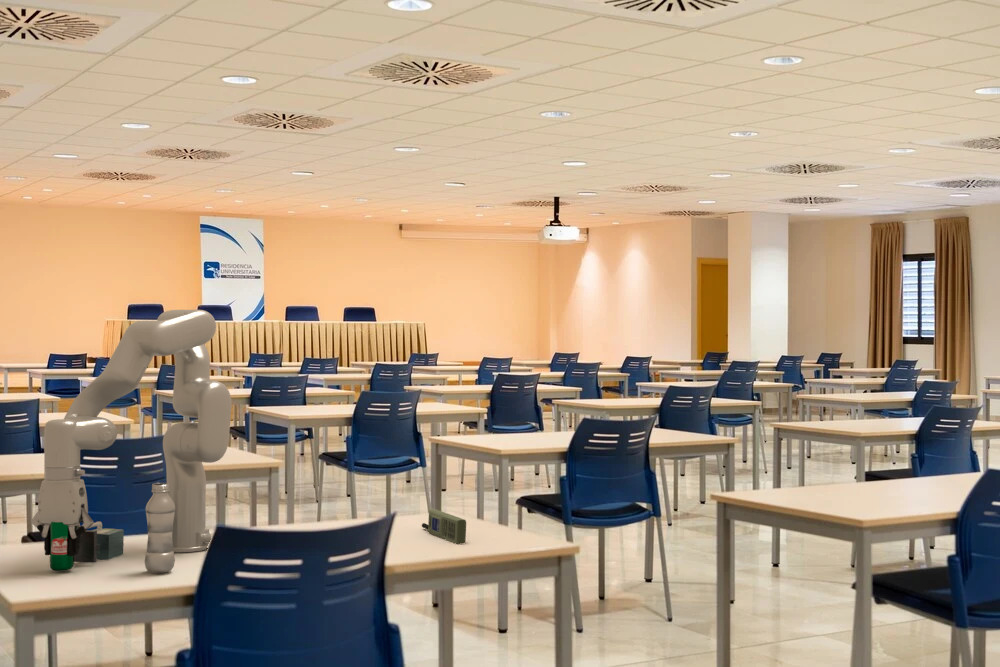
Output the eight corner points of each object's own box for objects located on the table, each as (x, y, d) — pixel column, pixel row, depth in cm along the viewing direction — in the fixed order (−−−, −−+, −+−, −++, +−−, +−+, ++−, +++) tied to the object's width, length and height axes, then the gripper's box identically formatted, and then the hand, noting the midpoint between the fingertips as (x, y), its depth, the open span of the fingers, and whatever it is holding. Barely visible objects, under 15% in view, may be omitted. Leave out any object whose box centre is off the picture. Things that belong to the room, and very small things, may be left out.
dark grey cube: (108, 559, 265) (108, 534, 265) (81, 558, 267) (81, 533, 267) (123, 554, 272) (123, 529, 272) (96, 553, 273) (97, 528, 273)
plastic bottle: (163, 568, 256) (164, 481, 256) (180, 572, 252) (181, 483, 252) (138, 572, 251) (139, 484, 251) (155, 577, 247) (156, 486, 247)
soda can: (48, 572, 249) (48, 518, 249) (51, 567, 253) (51, 514, 253) (72, 570, 250) (72, 517, 250) (75, 566, 255) (75, 513, 255)
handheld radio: (455, 545, 288) (417, 530, 310) (467, 545, 289) (428, 529, 312) (456, 519, 288) (418, 506, 310) (468, 519, 290) (429, 505, 312)
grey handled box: (93, 562, 258) (94, 529, 258) (62, 561, 259) (62, 527, 259) (115, 554, 267) (115, 522, 267) (84, 553, 269) (84, 521, 269)
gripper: (105, 473, 254) (105, 552, 254) (37, 471, 257) (36, 550, 257) (88, 477, 247) (88, 559, 247) (17, 475, 249) (17, 556, 249)
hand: (62, 553), depth 252 cm, fingers closed on soda can, 5 cm apart
